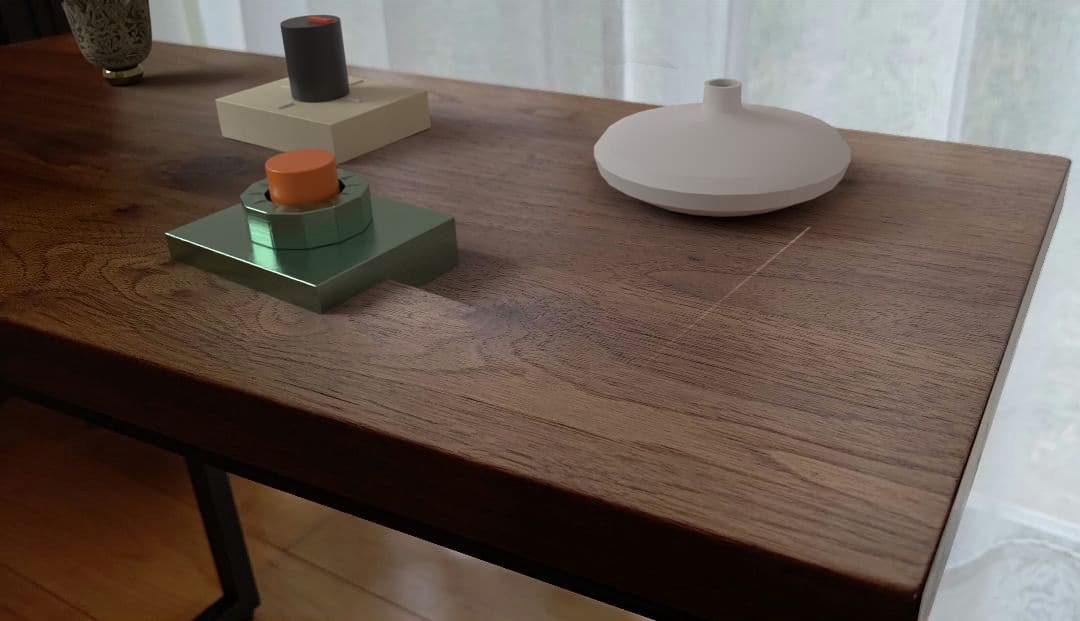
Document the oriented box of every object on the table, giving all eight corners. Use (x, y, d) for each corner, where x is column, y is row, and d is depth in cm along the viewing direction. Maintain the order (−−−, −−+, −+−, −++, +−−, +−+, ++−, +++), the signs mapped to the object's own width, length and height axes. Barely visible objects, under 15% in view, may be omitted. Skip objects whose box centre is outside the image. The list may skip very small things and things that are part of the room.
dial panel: (222, 136, 78) (214, 97, 76) (318, 104, 85) (312, 67, 83) (336, 165, 71) (330, 122, 69) (431, 127, 78) (427, 87, 76)
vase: (772, 267, 53) (781, 141, 50) (543, 206, 62) (538, 95, 59) (887, 179, 64) (901, 70, 61) (678, 138, 73) (680, 41, 70)
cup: (92, 75, 97) (70, -10, 93) (170, 68, 98) (152, -16, 94) (75, 95, 90) (52, 5, 87) (160, 88, 92) (140, -1, 88)
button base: (176, 282, 55) (155, 197, 52) (313, 221, 62) (301, 144, 59) (325, 341, 48) (309, 247, 46) (459, 266, 55) (452, 181, 53)
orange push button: (257, 201, 53) (250, 164, 52) (308, 180, 55) (303, 144, 54) (302, 214, 51) (296, 176, 50) (354, 192, 53) (349, 155, 52)
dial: (279, 97, 76) (266, 19, 73) (322, 83, 79) (312, 8, 76) (318, 105, 74) (307, 25, 71) (361, 90, 77) (352, 13, 74)
